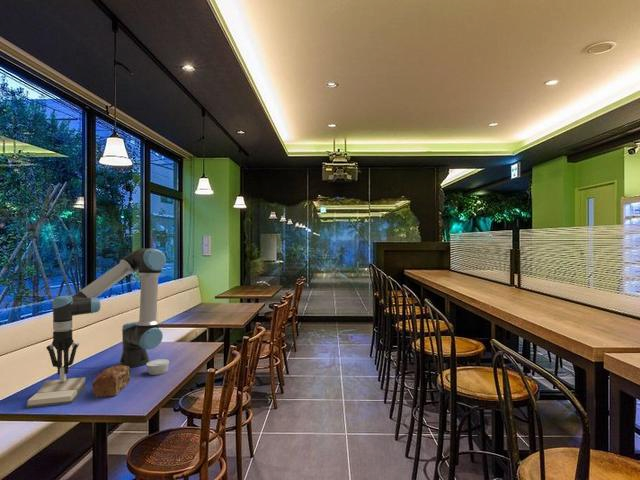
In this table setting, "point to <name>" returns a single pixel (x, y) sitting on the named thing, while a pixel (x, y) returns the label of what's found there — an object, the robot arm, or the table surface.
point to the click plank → (62, 385)
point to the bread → (111, 381)
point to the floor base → (54, 398)
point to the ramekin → (157, 366)
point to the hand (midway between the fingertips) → (63, 380)
